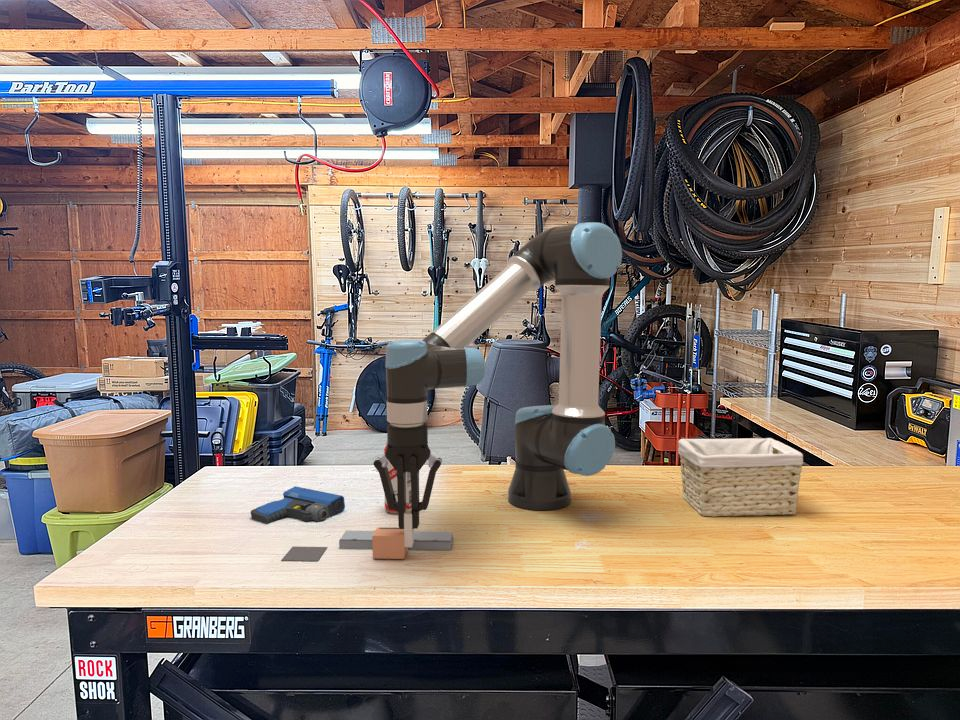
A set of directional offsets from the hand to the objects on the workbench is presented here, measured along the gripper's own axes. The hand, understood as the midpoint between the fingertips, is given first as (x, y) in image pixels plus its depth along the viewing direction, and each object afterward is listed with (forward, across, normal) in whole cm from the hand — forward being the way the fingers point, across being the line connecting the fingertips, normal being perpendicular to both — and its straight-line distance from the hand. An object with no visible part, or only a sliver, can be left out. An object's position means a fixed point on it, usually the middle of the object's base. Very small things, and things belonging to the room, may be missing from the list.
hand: (409, 544), depth 120 cm
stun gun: (+3, +29, -22) cm, 36 cm away
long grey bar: (+3, +3, -6) cm, 7 cm away
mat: (+3, +20, -1) cm, 21 cm away
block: (+3, +4, -1) cm, 5 cm away
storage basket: (+3, -73, -30) cm, 79 cm away
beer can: (+3, +6, -26) cm, 27 cm away
